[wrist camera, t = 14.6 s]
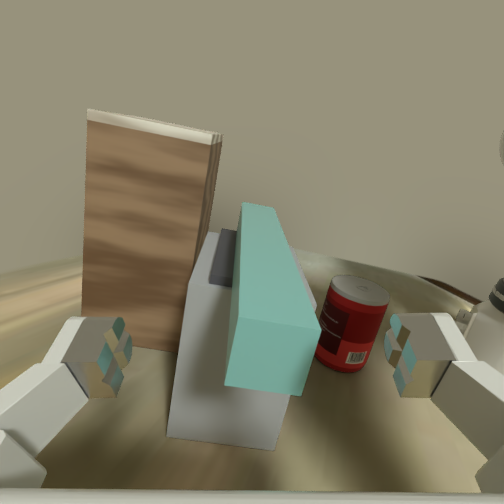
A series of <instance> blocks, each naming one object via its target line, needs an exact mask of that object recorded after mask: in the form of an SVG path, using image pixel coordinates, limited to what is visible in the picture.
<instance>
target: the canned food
mask: <svg viewBox="0 0 504 504" xmlns="http://www.w3.org/2000/svg"><path fill="white" fill-rule="evenodd" d="M389 299H390V295H389V293H388V292H387V291H386V290H385V289H384V288H383V287H381V286H380V285H378V284H376V283H374V282H372V281H370V280H367V279H364V278H361V277H357V276H351V275H338V276H334V277H333V278H332V281H331V283H330V286H329V289H328V292H327V295H326V299H325V302H324V305H323V309H322V312H321V316H320V319H319V325H320V327H321V330H322V331H321V334H320V337H319V340H318V343H317V347H316V350H315V353H314V355H315V356H316V358H317V359H318V360H319V361H320V362H322V363H323V364H324V365H326V366H327V367H329V368H331V369H334V370H337V371H341V372H356V371H358V370H360V369H361V368H362V367H363V366H364V365H365V363H366V361H367V359H368V356H369V354H370V351H371V348H372V346H373V343H374V340H375V338H376V335H377V332H378V330H379V327H380V325H381V322H382V319H383V317H384V314H385V311H386V309H387V306H388V303H389Z"/></svg>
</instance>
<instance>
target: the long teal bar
mask: <svg viewBox="0 0 504 504" xmlns="http://www.w3.org/2000/svg"><path fill="white" fill-rule="evenodd" d="M321 331H322V330H321V327H320V325H319V322H318V320H317V317H316V315H315V312H314V309H313V307H312V304H311V302H310V299H309V297H308V294H307V292H306V289H305V286H304V284H303V281H302V279H301V276H300V274H299V271H298V269H297V266H296V263H295V261H294V258H293V256H292V253H291V251H290V248H289V246H288V243H287V240H286V238H285V236H284V233H283V230H282V228H281V225H280V222H279V220H278V217H277V215H276V212H275V210H274V208H272V207H267V206H261V205H256V204H251V203H245V202H242V206H241V211H240V217H239V222H238V227H237V233H236V245H235V257H234V270H233V282H232V294H231V307H230V319H229V332H228V344H227V356H226V369H225V381H224V385H225V386H232V387H239V388H246V389H253V390H260V391H267V392H274V393H281V394H288V395H295V396H301V395H302V392H303V389H304V386H305V382H306V379H307V376H308V373H309V369H310V366H311V363H312V360H313V356H314V353H315V350H316V347H317V343H318V340H319V337H320V334H321Z"/></svg>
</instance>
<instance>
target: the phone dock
mask: <svg viewBox="0 0 504 504" xmlns="http://www.w3.org/2000/svg"><path fill="white" fill-rule="evenodd" d="M236 233H237V231H233V230H228V229H222V230H221V234H219V233H213V232H208V233H207V236H206V238H205V241H204V244H203V246H202V249H201V252H200V254H199V257H198V260H197V262H196V265H195V267H194V270H193V273H192V275H191V278H190V281H189V284H188V290H187V297H186V304H185V311H184V318H183V324H182V331H181V338H180V345H179V352H178V359H177V365H176V372H175V379H174V386H173V393H172V399H171V406H170V413H169V420H168V427H167V433H166V437H171V438H178V439H186V440H194V441H201V442H209V443H217V444H224V445H232V446H240V447H248V448H255V449H263V450H271V451H274V449H275V446H276V443H277V439H278V436H279V433H280V429H281V426H282V422H283V419H284V416H285V412H286V409H287V405H288V402H289V399H290V395H288V394H281V393H274V392H267V391H260V390H253V389H246V388H239V387H232V386H225V385H224V381H225V369H226V356H227V344H228V332H229V319H230V307H231V294H232V282H233V270H234V257H235V245H236ZM289 248H290V251H291V253H292V256H293V258H294V261H295V263H296V266H297V269H298V271H299V274H300V276H301V279H302V281H303V284H304V286H305V289H306V292H307V294H308V297H309V299H310V302H311V304H312V307H313V309H314V312H315V310H316V307H317V304H316V301H315V299H314V296H313V294H312V292H311V289H310V287H309V284H308V282H307V280H306V277H305V275H304V272H303V270H302V268H301V265H300V263H299V261H298V258H297V256H296V253H295V251H294V249H293V247H291V246H289Z"/></svg>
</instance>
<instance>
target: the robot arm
mask: <svg viewBox="0 0 504 504" xmlns="http://www.w3.org/2000/svg"><path fill="white" fill-rule="evenodd" d="M500 157H501V161H502V163H503V165H504V131H503V134H502V137H501V141H500ZM457 321H458V322H457ZM125 325H126V324H125V322H124V320H123V318H122V317H70V318H69V319H68V320H67V321H66V322H65V324H64V325H63V327H62V329H61V330H60V332H59V334H58V336H57V337H56V339H55V341H54V342H53V344H52V346H51V347H50V349H49V351H48V352H47V354H46V356H45V357H44V359H43V361H42V362H41V363H36V364H35V365H33V366H32V367H31V368H29V369H28V370H26V371H25V372H24V373H22V374H21V375H20V376H18V377H17V378H16V379H14V380H13V381H11V382H10V383H9V384H7V385H6V386H5V387H3V388H2V389H1V390H0V504H504V278H501V279H500V280H499V281H498V283H497V284H496V285H495V286H494V287H493V289H492V292H491V293H490V295H489V299H488V300H486V301H484V302H482V303H480V304H478V305H475V306H473V308H472V310H471V312H469V311H466V310H464V309H460V311H459V313H458V315H457V318H456V321H454V320H453V318H452V317H451V315H449V314H448V313H394V314H393V315H392V316H391V319H390V325H391V327H392V328H390V329H389V330H388V331H386V334H385V338H384V349H385V354H386V357H387V360H388V363H389V364H391V365H392V366H393V367H394V368H395V372H394V374H393V378H394V381H395V384H396V386H397V389H398V392H399V395H400V397H407V398H431V399H430V400H431V401H432V402H433V403H434V404H435V405H436V406H437V407H438V408H439V409H440V410H441V411H442V412H443V413H444V414H445V415H446V416H447V418H448V419H449V420H450V421H451V422H452V423H453V424H454V425H455V426H456V427H457V428H458V429H459V430H460V431H461V432H462V433H463V434H464V435H465V436H466V437H467V438H468V439H469V441H470V442H471V443H472V444H473V445H474V446H475V447H476V448H477V449H478V450H479V451H480V452H481V453H482V454H483V455H484V456H485V457H486V458H487V459H488V461H487V462H486V463H485V464H484V465H483V466H482V467H481V468H480V469H479V470H478V471H477V473H476V475H475V478H476V481H477V483H478V485H479V488H480V490H481V492H482V493H448V492H351V491H254V490H157V489H57V488H41V486H42V484H43V481H44V479H45V477H46V474H47V472H46V469H45V467H43V466H42V465H41V464H40V463H39V462H38V461H37V460H36V459H35V457H36V456H37V455H38V454H39V453H40V452H41V451H42V450H43V448H44V447H45V446H46V445H47V444H48V443H49V442H50V441H51V440H52V439H53V438H54V437H55V436H56V435H57V433H58V432H59V431H60V430H61V429H62V428H63V427H64V426H65V425H66V424H67V423H68V422H69V421H70V420H71V419H72V417H73V416H74V415H75V414H76V413H77V412H78V411H79V410H80V409H81V408H82V407H83V406H84V405H85V404H86V403H87V401H88V400H89V399H88V398H117V395H118V392H119V390H120V387H121V384H122V381H123V378H124V376H123V373H122V371H121V370H122V369H123V368H125V367H126V366H127V365H128V364H129V361H130V358H131V355H132V346H133V345H132V339H131V336H130V334H129V333H128V332H126V331H125V330H124V327H125Z"/></svg>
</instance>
